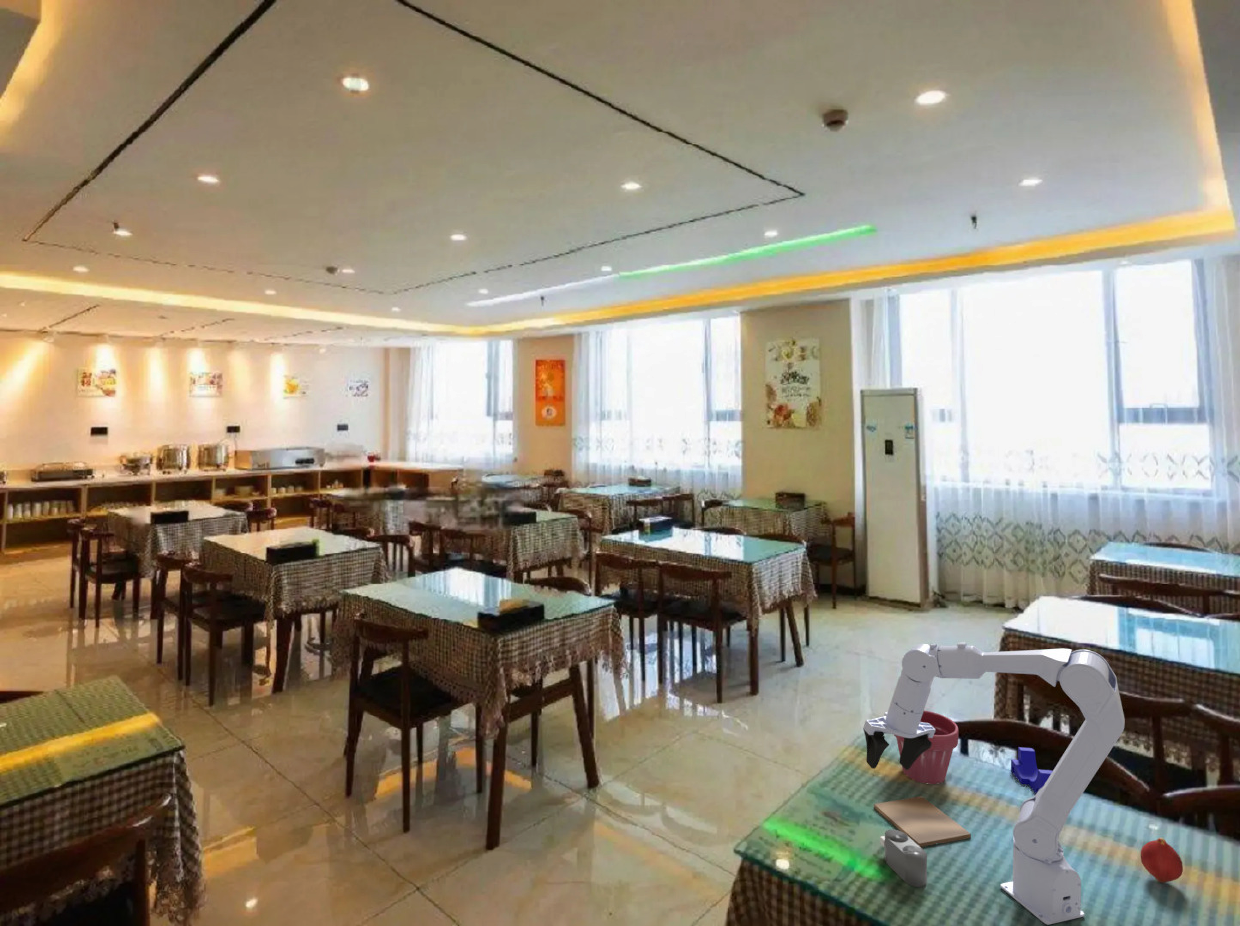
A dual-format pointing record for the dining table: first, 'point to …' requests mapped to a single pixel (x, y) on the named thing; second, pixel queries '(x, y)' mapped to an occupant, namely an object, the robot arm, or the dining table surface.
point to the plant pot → (933, 750)
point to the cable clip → (1029, 769)
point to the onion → (1161, 860)
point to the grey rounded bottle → (905, 857)
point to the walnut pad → (921, 821)
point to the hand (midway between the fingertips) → (887, 765)
